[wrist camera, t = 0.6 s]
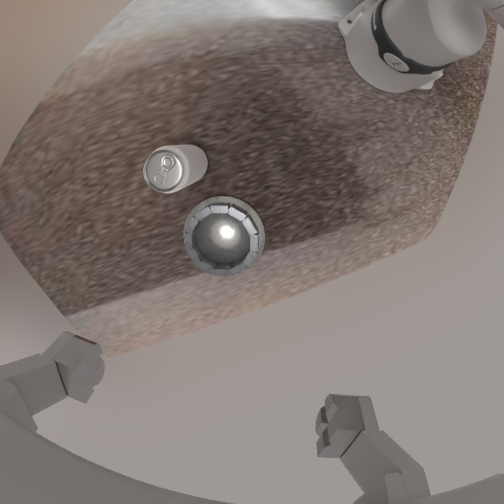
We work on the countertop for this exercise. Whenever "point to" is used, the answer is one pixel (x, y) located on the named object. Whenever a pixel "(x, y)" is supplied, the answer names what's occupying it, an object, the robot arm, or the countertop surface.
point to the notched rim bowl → (224, 235)
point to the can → (174, 167)
